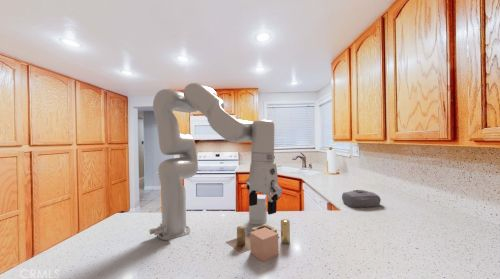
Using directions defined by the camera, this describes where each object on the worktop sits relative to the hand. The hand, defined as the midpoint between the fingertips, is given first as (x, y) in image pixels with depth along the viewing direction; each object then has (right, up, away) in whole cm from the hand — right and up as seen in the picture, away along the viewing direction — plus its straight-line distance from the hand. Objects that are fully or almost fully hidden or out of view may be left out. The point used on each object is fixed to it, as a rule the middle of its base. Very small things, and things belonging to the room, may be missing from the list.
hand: (262, 209), depth 70 cm
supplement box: (0, -16, +28) cm, 32 cm away
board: (-3, -16, +10) cm, 19 cm away
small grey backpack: (+61, -15, +53) cm, 82 cm away
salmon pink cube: (+1, -16, 0) cm, 16 cm away
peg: (+9, -16, +7) cm, 20 cm away
